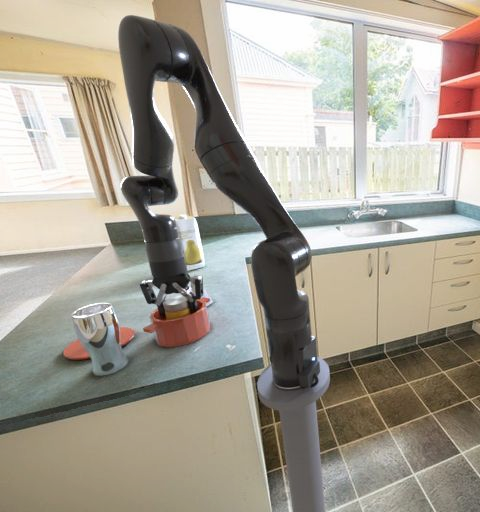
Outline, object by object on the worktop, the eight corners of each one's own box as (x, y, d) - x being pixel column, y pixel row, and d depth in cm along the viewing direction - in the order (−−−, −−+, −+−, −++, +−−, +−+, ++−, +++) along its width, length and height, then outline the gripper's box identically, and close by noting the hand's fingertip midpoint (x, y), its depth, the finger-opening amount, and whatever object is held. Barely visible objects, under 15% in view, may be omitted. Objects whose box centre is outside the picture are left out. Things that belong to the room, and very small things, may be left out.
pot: (227, 320, 89) (223, 297, 87) (172, 356, 72) (166, 330, 70) (193, 314, 92) (189, 293, 90) (134, 348, 76) (126, 322, 73)
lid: (147, 334, 82) (142, 315, 80) (90, 366, 69) (82, 343, 67) (111, 327, 85) (105, 308, 83) (50, 356, 72) (41, 334, 71)
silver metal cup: (103, 359, 71) (84, 304, 67) (136, 355, 73) (120, 301, 68) (82, 379, 65) (60, 319, 60) (119, 374, 66) (100, 315, 62)
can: (201, 325, 84) (195, 296, 81) (182, 336, 78) (175, 306, 76) (184, 322, 85) (177, 293, 83) (164, 333, 80) (156, 303, 77)
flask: (201, 298, 103) (196, 271, 100) (217, 301, 101) (212, 274, 98) (182, 307, 96) (175, 279, 93) (198, 311, 94) (192, 282, 91)
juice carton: (184, 272, 127) (171, 217, 119) (177, 268, 131) (165, 215, 124) (207, 266, 133) (197, 214, 126) (200, 263, 138) (190, 212, 131)
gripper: (124, 263, 70) (142, 325, 75) (193, 258, 74) (205, 318, 79) (140, 254, 77) (155, 311, 82) (202, 250, 80) (213, 305, 86)
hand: (180, 314), depth 80 cm, fingers closed on can, 6 cm apart
